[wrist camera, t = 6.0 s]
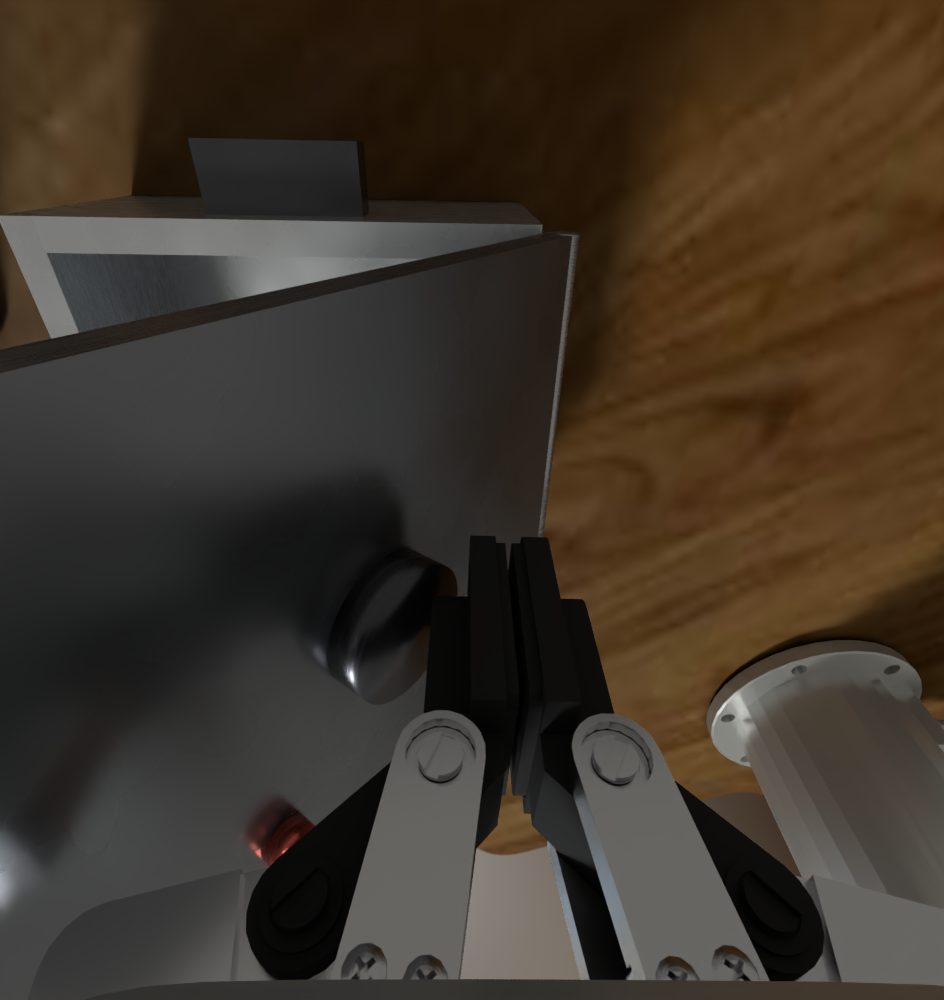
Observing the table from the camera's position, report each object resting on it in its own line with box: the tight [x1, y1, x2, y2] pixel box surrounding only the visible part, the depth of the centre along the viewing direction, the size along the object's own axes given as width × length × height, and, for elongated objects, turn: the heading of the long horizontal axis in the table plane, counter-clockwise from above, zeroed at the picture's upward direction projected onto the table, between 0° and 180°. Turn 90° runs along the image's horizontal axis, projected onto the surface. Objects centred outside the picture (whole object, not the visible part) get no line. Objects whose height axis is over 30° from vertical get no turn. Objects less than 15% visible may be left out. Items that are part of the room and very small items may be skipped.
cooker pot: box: [0, 138, 543, 339], centre depth 19 cm, size 13×16×6 cm
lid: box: [0, 231, 580, 1000], centre depth 11 cm, size 15×13×2 cm
